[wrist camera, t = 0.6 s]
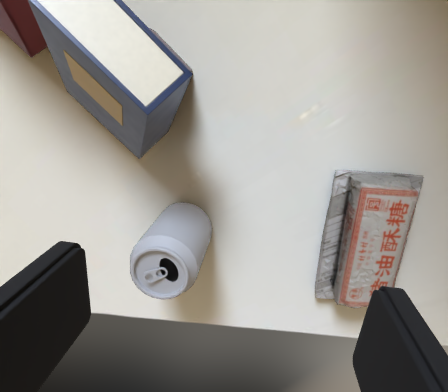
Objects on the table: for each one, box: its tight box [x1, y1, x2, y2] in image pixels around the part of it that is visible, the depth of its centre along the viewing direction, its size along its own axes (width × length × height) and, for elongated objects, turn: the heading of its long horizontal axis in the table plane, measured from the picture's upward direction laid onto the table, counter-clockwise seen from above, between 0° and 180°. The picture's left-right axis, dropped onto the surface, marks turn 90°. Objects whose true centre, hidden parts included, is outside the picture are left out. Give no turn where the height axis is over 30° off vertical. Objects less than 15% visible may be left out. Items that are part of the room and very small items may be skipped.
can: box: [130, 202, 212, 299], centre depth 37 cm, size 8×8×12 cm
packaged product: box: [315, 170, 423, 308], centre depth 37 cm, size 18×5×10 cm
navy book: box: [28, 0, 193, 159], centre depth 29 cm, size 15×11×5 cm
